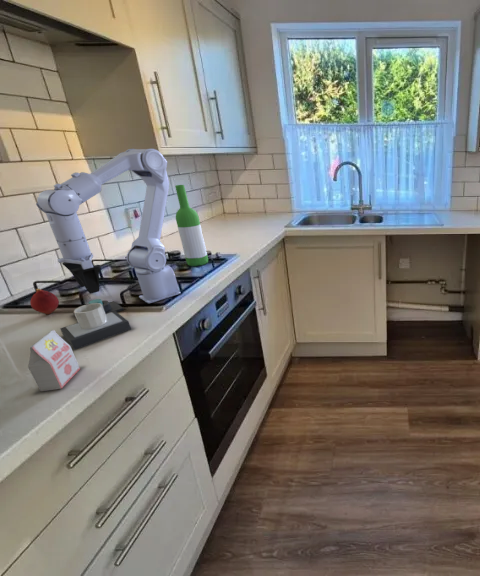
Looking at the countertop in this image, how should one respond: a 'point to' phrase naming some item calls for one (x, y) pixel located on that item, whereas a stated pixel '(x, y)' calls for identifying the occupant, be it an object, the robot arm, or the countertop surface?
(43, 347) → the printed snack carton
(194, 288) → the countertop surface
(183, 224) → the wine bottle
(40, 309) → the onion
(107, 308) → the pad
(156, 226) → the robot arm
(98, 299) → the button
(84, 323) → the cup
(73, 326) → the scale
